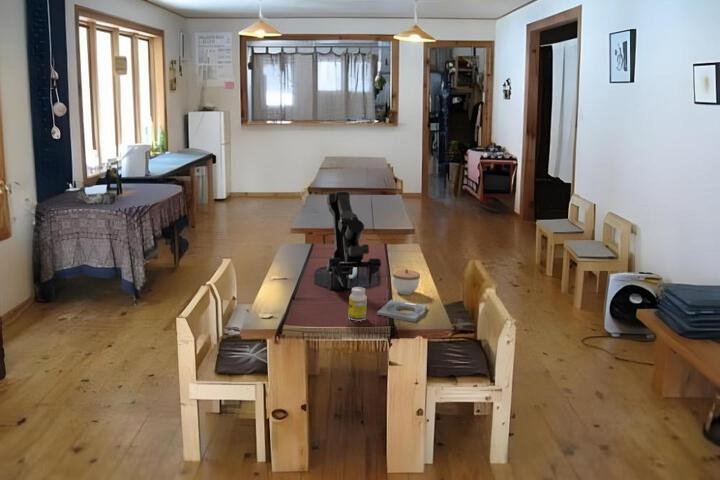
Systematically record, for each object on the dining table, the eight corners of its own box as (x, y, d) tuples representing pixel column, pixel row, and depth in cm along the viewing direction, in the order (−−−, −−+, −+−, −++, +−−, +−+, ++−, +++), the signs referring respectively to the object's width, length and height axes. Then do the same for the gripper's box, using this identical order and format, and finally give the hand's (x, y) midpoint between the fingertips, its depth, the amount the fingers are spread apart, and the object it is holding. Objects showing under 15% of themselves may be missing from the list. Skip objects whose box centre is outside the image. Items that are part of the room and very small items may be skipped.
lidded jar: (410, 298, 290) (412, 274, 287) (386, 292, 295) (387, 269, 293) (423, 292, 299) (425, 269, 296) (399, 286, 304) (401, 263, 302)
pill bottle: (347, 315, 267) (349, 285, 264) (364, 316, 267) (366, 286, 265) (348, 321, 261) (350, 291, 258) (366, 322, 261) (368, 291, 259)
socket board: (377, 315, 269) (377, 311, 268) (390, 302, 283) (391, 299, 283) (417, 322, 264) (417, 318, 264) (429, 309, 279) (429, 305, 278)
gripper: (329, 235, 264) (333, 275, 256) (381, 236, 268) (387, 274, 260) (325, 252, 274) (328, 290, 266) (375, 252, 278) (380, 290, 270)
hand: (356, 286), depth 265 cm, fingers open, 9 cm apart
